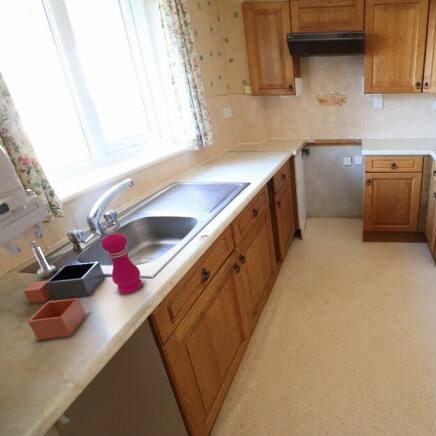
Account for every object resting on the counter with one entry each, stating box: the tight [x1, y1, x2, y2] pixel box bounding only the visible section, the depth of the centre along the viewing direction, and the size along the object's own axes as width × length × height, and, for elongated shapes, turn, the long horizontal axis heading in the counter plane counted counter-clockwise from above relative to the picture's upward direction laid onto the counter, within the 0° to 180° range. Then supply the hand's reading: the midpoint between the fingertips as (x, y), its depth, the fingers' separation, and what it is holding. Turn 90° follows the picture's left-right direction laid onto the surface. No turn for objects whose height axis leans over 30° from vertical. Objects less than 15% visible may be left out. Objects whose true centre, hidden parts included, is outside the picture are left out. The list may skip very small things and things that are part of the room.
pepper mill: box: [101, 228, 143, 294], centre depth 95 cm, size 7×7×20 cm
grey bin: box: [45, 261, 106, 301], centre depth 99 cm, size 10×10×6 cm
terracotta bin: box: [27, 297, 87, 341], centre depth 83 cm, size 8×8×6 cm
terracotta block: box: [22, 280, 52, 304], centre depth 95 cm, size 4×4×4 cm
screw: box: [29, 240, 57, 278], centre depth 105 cm, size 13×5×5 cm
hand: (28, 245), depth 92 cm, fingers open, 8 cm apart
